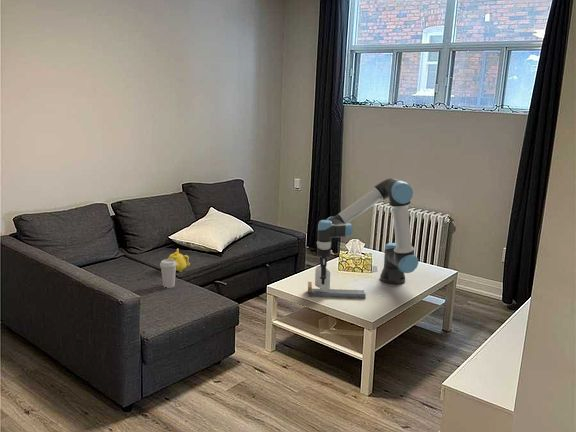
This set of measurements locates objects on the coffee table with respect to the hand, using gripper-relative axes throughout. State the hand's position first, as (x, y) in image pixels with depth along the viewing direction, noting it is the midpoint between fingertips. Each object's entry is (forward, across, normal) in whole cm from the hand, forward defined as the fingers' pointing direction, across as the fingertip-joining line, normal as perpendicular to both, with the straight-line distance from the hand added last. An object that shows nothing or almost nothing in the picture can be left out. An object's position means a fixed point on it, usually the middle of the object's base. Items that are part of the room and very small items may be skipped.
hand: (322, 285), depth 312 cm
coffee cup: (+5, -4, -88) cm, 88 cm away
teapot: (+5, -32, -89) cm, 95 cm away
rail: (+5, 0, +8) cm, 9 cm away
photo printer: (+1, 0, 0) cm, 1 cm away
